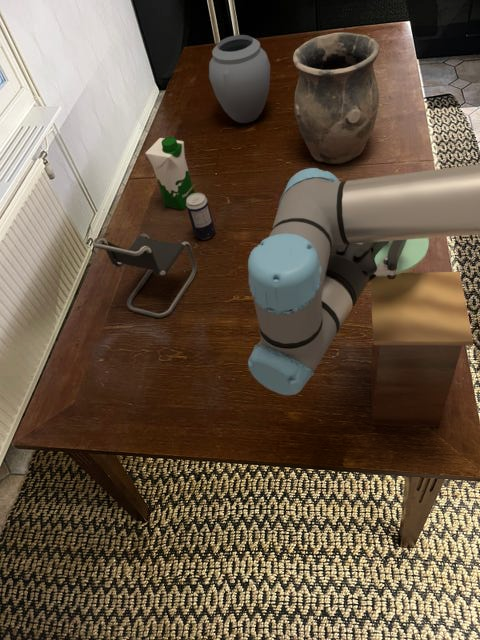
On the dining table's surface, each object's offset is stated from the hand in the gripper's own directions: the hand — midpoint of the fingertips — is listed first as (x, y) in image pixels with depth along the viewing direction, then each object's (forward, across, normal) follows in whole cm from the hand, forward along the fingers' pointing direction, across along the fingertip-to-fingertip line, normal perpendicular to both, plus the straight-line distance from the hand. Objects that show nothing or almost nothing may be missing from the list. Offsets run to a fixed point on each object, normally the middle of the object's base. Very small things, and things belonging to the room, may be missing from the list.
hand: (396, 189), depth 81 cm
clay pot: (+60, -40, -40) cm, 83 cm away
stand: (-11, +8, -40) cm, 42 cm away
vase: (+68, -77, -40) cm, 110 cm away
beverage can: (+14, -56, -40) cm, 70 cm away
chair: (-8, -55, -40) cm, 68 cm away
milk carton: (+23, -72, -40) cm, 85 cm away
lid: (-5, 0, -6) cm, 8 cm away
